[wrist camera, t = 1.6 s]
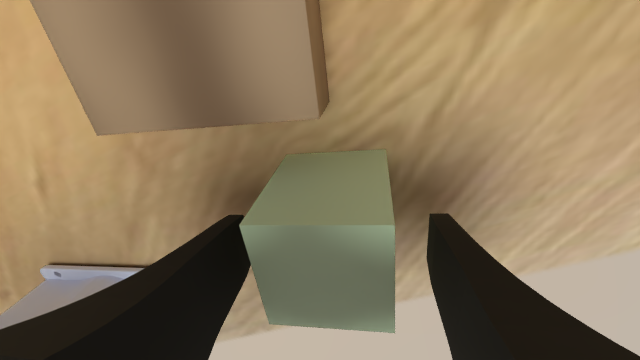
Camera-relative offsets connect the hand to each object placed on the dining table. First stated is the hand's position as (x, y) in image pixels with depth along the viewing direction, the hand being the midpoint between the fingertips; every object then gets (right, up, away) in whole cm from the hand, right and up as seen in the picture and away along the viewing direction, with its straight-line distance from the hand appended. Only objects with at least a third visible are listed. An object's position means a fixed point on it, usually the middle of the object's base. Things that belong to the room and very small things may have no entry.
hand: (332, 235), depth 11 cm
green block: (0, +1, +3) cm, 3 cm away
